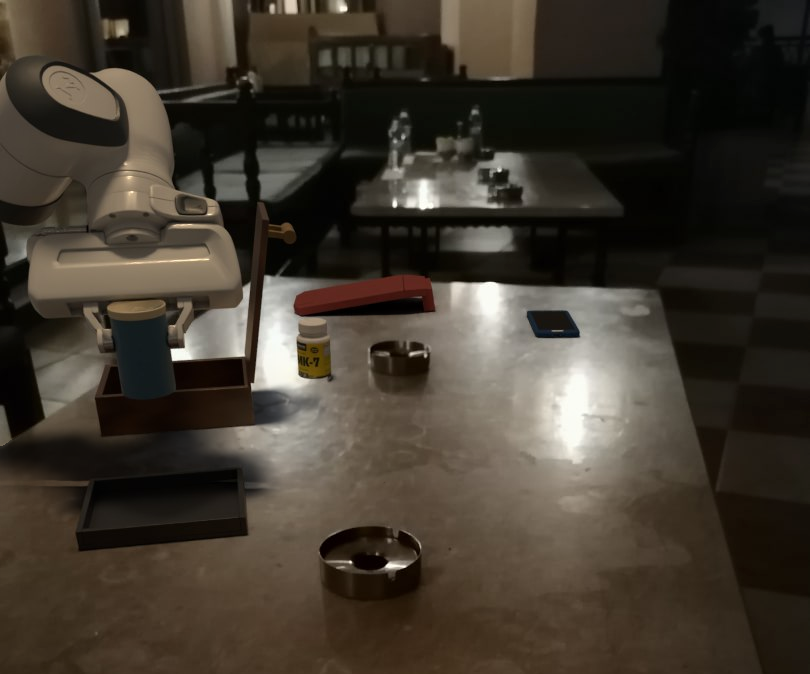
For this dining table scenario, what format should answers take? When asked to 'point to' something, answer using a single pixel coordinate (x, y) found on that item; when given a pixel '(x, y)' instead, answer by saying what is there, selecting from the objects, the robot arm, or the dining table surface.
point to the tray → (162, 508)
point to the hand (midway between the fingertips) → (142, 348)
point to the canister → (142, 348)
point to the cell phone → (552, 323)
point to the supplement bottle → (313, 349)
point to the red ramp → (365, 294)
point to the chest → (180, 400)
